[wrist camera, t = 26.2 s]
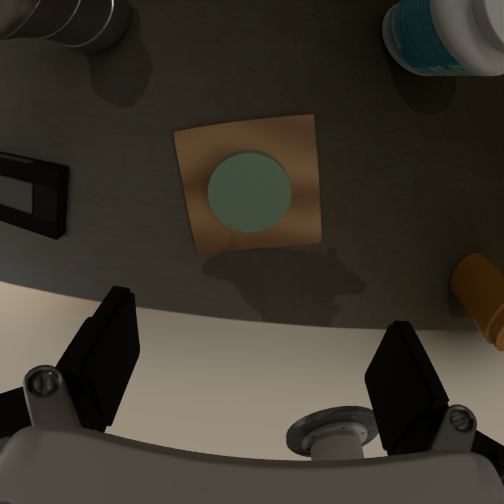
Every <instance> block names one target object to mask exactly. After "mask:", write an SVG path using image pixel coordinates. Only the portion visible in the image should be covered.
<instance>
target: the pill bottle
mask: <svg viewBox="0 0 504 504" xmlns="http://www.w3.org/2000/svg"><path fill="white" fill-rule="evenodd" d="M382 34H383V39H384V42H385V45H386V47H387V49H388V51H389V53H390V54H391V56H392V57H393V58H394V59H395V60H396V61H397V62H398V63H399V64H400V65H401V66H402V67H403V68H405V69H406V70H408V71H410V72H412V73H415V74H417V75H422V76H447V75H473V76H497V75H501V74H503V73H504V0H402V1H401V2H399V3H397V4H396V5H394V6H393V7H391V8H390V9H389V10H388V12H387V13H386V15H385V17H384V19H383V24H382Z"/></svg>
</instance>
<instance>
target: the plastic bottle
mask: <svg viewBox="0 0 504 504" xmlns="http://www.w3.org/2000/svg"><path fill="white" fill-rule="evenodd" d="M130 16H131V10H130V5H129V3H128V1H127V0H0V40H6V39H15V38H40V39H48V40H51V41H54V42H58V43H61V44H63V45H64V46H66V47H68V48H70V49H72V50H75V51H78V52H82V53H89V52H97V51H102V50H105V49H107V48H109V47H111V46H112V45H113V44H115V43H116V42H117V41H118V40H119V39H120V38H121V37H122V36H123V34H124V33H125V31H126V29H127V27H128V25H129V22H130Z"/></svg>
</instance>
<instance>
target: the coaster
mask: <svg viewBox="0 0 504 504" xmlns="http://www.w3.org/2000/svg"><path fill="white" fill-rule="evenodd" d="M173 135H174V141H175V146H176V152H177V157H178V163H179V168H180V173H181V179H182V184H183V189H184V194H185V199H186V204H187V209H188V214H189V219H190V223H191V228H192V233H193V237H194V242H195V247H196V251H197V255H203V254H213V253H223V252H233V251H243V250H253V249H264V248H274V247H284V246H294V245H304V244H315V243H322V239H321V212H320V192H319V175H318V160H317V147H316V134H315V123H314V114H306V115H292V116H280V117H270V118H260V119H251V120H243V121H235V122H228V123H221V124H214V125H208V126H202V127H196V128H190V129H184V130H179V131H174V132H173ZM246 149H247V150H257V149H258V150H259V151H263V152H265V153H269V155H271V156H273V157H274V158H275V159H276V158H277V159H278V161H279V162H280V163H281V165H282V166H284V167H285V171H286V173H287V175H289V178H290V180H289V181H290V185H291V188H292V191H291V201H290V205H289V208H288V210H287V212H286V213H285V215H284V216H283V217H282V219H281V220H280V221H279V222H278V223H276V224H275V225H274V226H272V227H270V228H268V229H266V230H263V231H259V232H241V231H237V230H234V229H231V228H230V227H228V226H226V225H225V224H223V223H222V222H221V221H220V220H219V219H218V218H217V217H216V216H215V214H214V213H213V211H212V209H211V207H210V204H209V200H208V184H209V181H210V178H211V174H212V172H213V171H214V170H215V169H216V166H217V164H218V163H220V162H221V161H222V160H223V159H224V158H225V157H226V156H229V155H230V154H232V153H235V151H241V150H246Z"/></svg>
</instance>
